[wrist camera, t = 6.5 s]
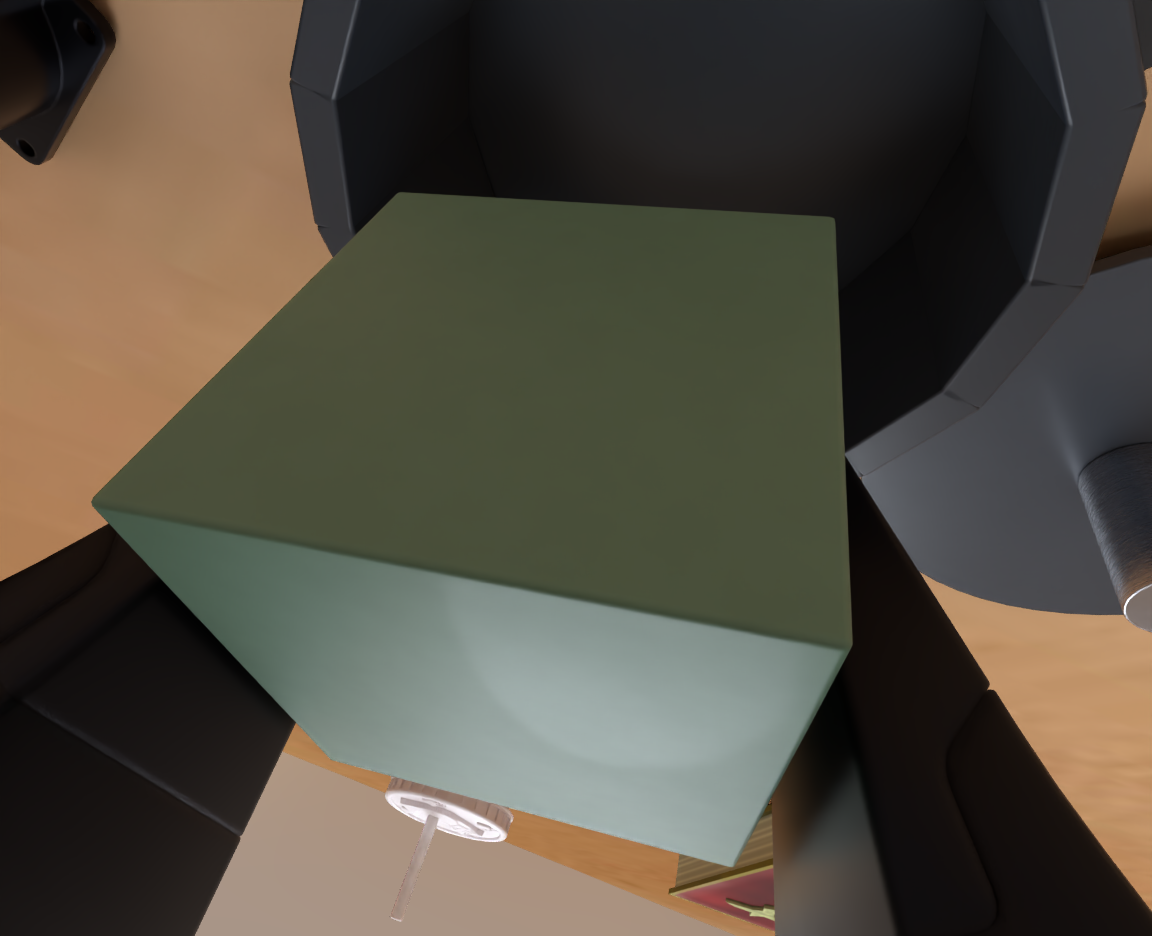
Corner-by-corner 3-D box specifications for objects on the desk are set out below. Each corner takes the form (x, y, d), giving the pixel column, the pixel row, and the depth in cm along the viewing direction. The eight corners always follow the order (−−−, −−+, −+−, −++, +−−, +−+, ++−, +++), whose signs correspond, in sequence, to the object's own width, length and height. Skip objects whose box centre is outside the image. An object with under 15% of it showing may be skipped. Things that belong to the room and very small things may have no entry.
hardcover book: (949, 855, 44) (958, 928, 41) (794, 888, 60) (792, 942, 57) (788, 796, 44) (786, 865, 41) (675, 845, 60) (668, 897, 57)
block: (470, 473, 11) (329, 760, 8) (397, 190, 8) (83, 501, 4) (761, 518, 10) (735, 869, 7) (836, 214, 7) (856, 648, 3)
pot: (1253, 149, 13) (1464, 334, 9) (563, 420, 23) (506, 563, 19) (1176, -943, 7) (1799, -2198, 2) (284, 93, 17) (108, 198, 13)
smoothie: (482, 597, 34) (359, 898, 25) (581, 650, 36) (499, 951, 27) (441, 633, 39) (324, 898, 30) (530, 678, 40) (445, 944, 31)
